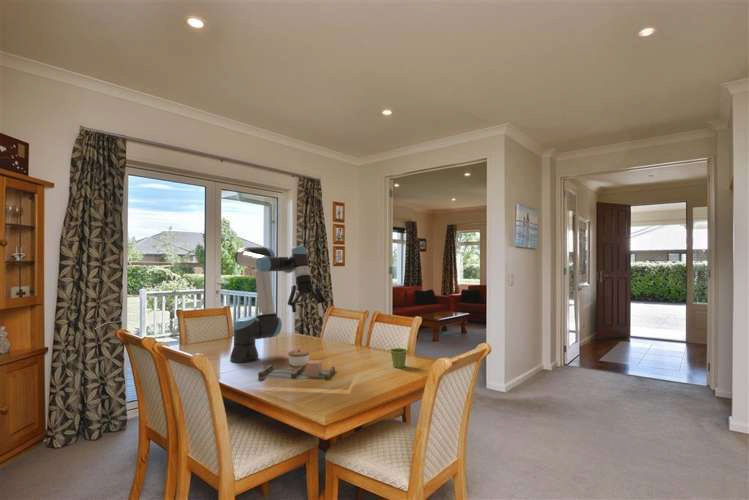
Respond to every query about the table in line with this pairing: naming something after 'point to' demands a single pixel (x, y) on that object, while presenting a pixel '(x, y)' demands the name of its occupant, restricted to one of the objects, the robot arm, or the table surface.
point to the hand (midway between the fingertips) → (309, 317)
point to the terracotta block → (313, 368)
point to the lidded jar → (298, 357)
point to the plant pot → (398, 357)
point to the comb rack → (292, 373)
